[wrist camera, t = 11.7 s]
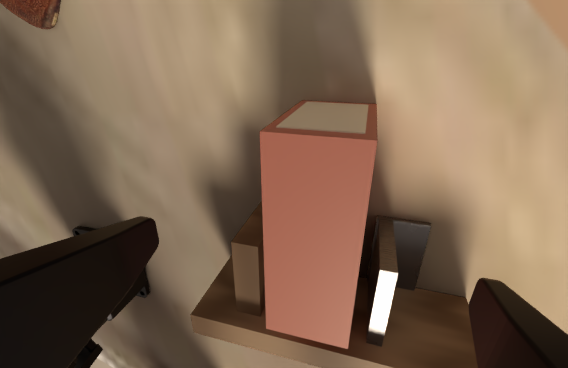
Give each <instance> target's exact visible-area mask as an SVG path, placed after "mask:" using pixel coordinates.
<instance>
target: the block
mask: <svg viewBox="0 0 568 368" xmlns="http://www.w3.org/2000/svg"><path fill="white" fill-rule="evenodd" d="M376 147H377V104H366V103H346V102H326V101H305V100H302V101H301V102H299V103H298V104H297V105H295V106H294V107H292V108H291V109H290V110H288V111H287V112H286V113H284V114H283V115H282V116H280V117H279V118H277V119H276V120H275V121H273V122H272V123H271V124H269V125H268V126H267V127H265V128H264V129H262V130H261V131H260V154H261V185H262V216H263V246H264V277H265V307H266V329H269V330H273V331H277V332H281V333H285V334H289V335H293V336H297V337H301V338H305V339H309V340H313V341H317V342H321V343H325V344H329V345H333V346H337V347H341V348H345V349H348V345H349V337H350V330H351V323H352V316H353V309H354V302H355V295H356V288H357V281H358V274H359V267H360V260H361V253H362V246H363V239H364V232H365V225H366V218H367V210H368V203H369V196H370V189H371V182H372V175H373V168H374V161H375V154H376Z"/></svg>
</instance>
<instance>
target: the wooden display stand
mask: <svg viewBox="0 0 568 368" xmlns="http://www.w3.org/2000/svg"><path fill="white" fill-rule="evenodd" d="M231 247H232V256H231V257H230V258H229V260H228V261H227V263H226V264H225V266H224V267H223V269H222V270H221V271H220V273H219V274H218V276H217V277H216V279H215V280H214V282H213V283H212V284H211V286H210V287H209V289H208V290H207V292H206V293H205V294H204V296H203V297H202V299H201V300H200V302H199V303H198V305H197V306H196V307H195V309H194V310H193V312H192V313H191V320H192V326H193V331H194V332H195V333H198V334H202V335H205V336H209V337H213V338H216V339H220V340H223V341H227V342H231V343H234V344H238V345H241V346H245V347H249V348H252V349H256V350H260V351H263V352H267V353H270V354H274V355H278V356H281V357H285V358H288V359H292V360H296V361H299V362H303V363H307V364H310V365H314V366H317V367H321V368H478V366H477V360H476V354H475V348H474V342H473V336H472V329H471V323H470V317H469V305H468V302H467V299H466V298H464V297H459V296H454V295H449V294H444V293H439V292H434V291H429V290H423V289H418V288H415V290H414V291H412V290H407V289H402V288H397V287H395V290H394V294H393V299H392V303H391V308H390V312H389V317H388V321H387V326H386V330H385V335H384V339H383V344H382V347H380V346H376V345H372V344H368V343H366V334H367V304H368V282H367V278H362V277H358V281H357V288H356V295H355V302H354V309H353V316H352V323H351V330H350V337H349V345H348V349H345V348H341V347H337V346H333V345H329V344H325V343H321V342H317V341H313V340H309V339H305V338H301V337H297V336H293V335H289V334H285V333H281V332H277V331H273V330H269V329H266V307H265V277H264V246H263V216H262V201H261V203H260V204H259V205H258V207H257V208H256V209H255V211H254V212H253V213H252V215H251V216H250V217H249V219H248V220H247V221H246V223H245V224H244V225H243V227H242V228H241V230H240V231H239V232H238V234H237V235H236V236H235V238H234V239H233V240H232V242H231Z"/></svg>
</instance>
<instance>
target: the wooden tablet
mask: <svg viewBox="0 0 568 368" xmlns="http://www.w3.org/2000/svg"><path fill="white" fill-rule="evenodd" d="M60 2H61V0H0V3H1V4H3V5H4V6H5V7H6V8H7V9H9V10H10V11H11V12H12V13H14V14H15V15H17V16H18V17H20V18H22V19H23V20H25V21H26V22H28V23H29V24H31V25H33V26H36V27H38V28H41V29H50V28H53V27H54V26H55V25H56V22H57V19H58V14H59V9H60Z"/></svg>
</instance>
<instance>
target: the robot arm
mask: <svg viewBox="0 0 568 368" xmlns="http://www.w3.org/2000/svg"><path fill="white" fill-rule="evenodd" d="M73 235H74V237H70V238H67V239H64V240H61V241H57V242H54V243H51V244H47V245H44V246H41V247H38V248H34V249H31V250H28V251H24V252H21V253H18V254H14V255H11V256H8V257H5V258H1V259H0V368H90V366H91V365H92V364H93V362H94V361H95V360H96V358H97V357H98V355H99V354H100V353H101V351H102V350H103V349H102V347H101V346H100V345H99V344H96V343H95V342H94V341H93V340H92V339H91V338H92V336H93V335H94V334H95V333H96V331H97V330H98V329H99V328H100V327H101V326H102V325H103V324H104V323H105V322H106V321H107V320H108V321H111V320H112V319H113V318H114V317H115V316H116V315H117V314H118V313H119V312H120V311H121V310H122V309H123V308H124V307H125V306H126V305H127V304H128V303H129V302H130V301H131V300H132V299H133V298H134V297H135V296H139V297H144V298H145V297H147V296H148V295H149V293H150V290H149V286H148V282H147V278H146V274H145V270H144V267H145V266H146V264H147V263H148V261H149V260H150V258H151V257H152V255H153V254H154V252H155V251H156V249H157V247H158V244H159V238H158V233H157V228H156V223H155V221H154V220H153V219H152V218H148V217H142V216H141V217H136V218H133V219H130V220H126V221H123V222H120V223H117V224H113V225H110V226H107V227H103V228H100V229H97V230H96V229H91V228H86V227H81V226H78V227H76V228H74V229H73ZM469 317H470V323H471V329H472V336H473V342H474V348H475V354H476V360H477V366H478V368H568V334H566V333H565V332H564V331H563V330H561V329H560V328H559V327H558V326H556V325H555V324H554V323H553V322H551V321H550V320H549V319H548V318H546V317H545V316H544V315H543V314H541V313H540V312H539V311H538V310H536V309H535V308H534V307H533V306H531V305H530V304H529V303H528V302H526V301H525V300H524V299H523V298H521V297H520V296H519V295H518V294H516V293H515V292H514V291H513V290H511V289H510V288H509V287H508V286H506V285H505V284H504V283H503V282H501V281H498V280H493V279H488V278H481V279H479V280H478V282H477V284H476V286H475V289H474V292H473V294H472V297H471V300H470V302H469Z"/></svg>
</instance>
